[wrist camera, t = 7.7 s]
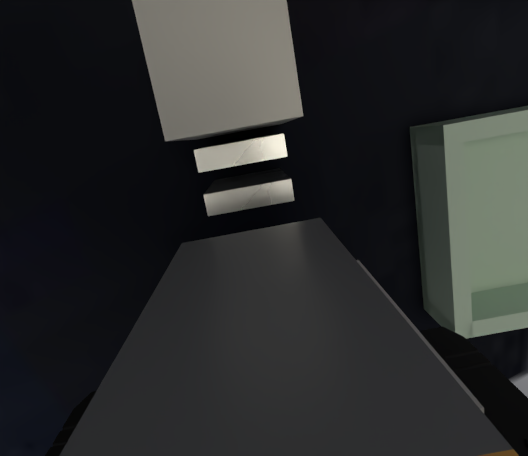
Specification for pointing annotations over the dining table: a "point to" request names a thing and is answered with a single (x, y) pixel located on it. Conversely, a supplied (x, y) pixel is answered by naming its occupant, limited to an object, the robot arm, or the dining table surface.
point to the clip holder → (245, 175)
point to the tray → (473, 220)
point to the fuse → (277, 362)
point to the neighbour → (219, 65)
